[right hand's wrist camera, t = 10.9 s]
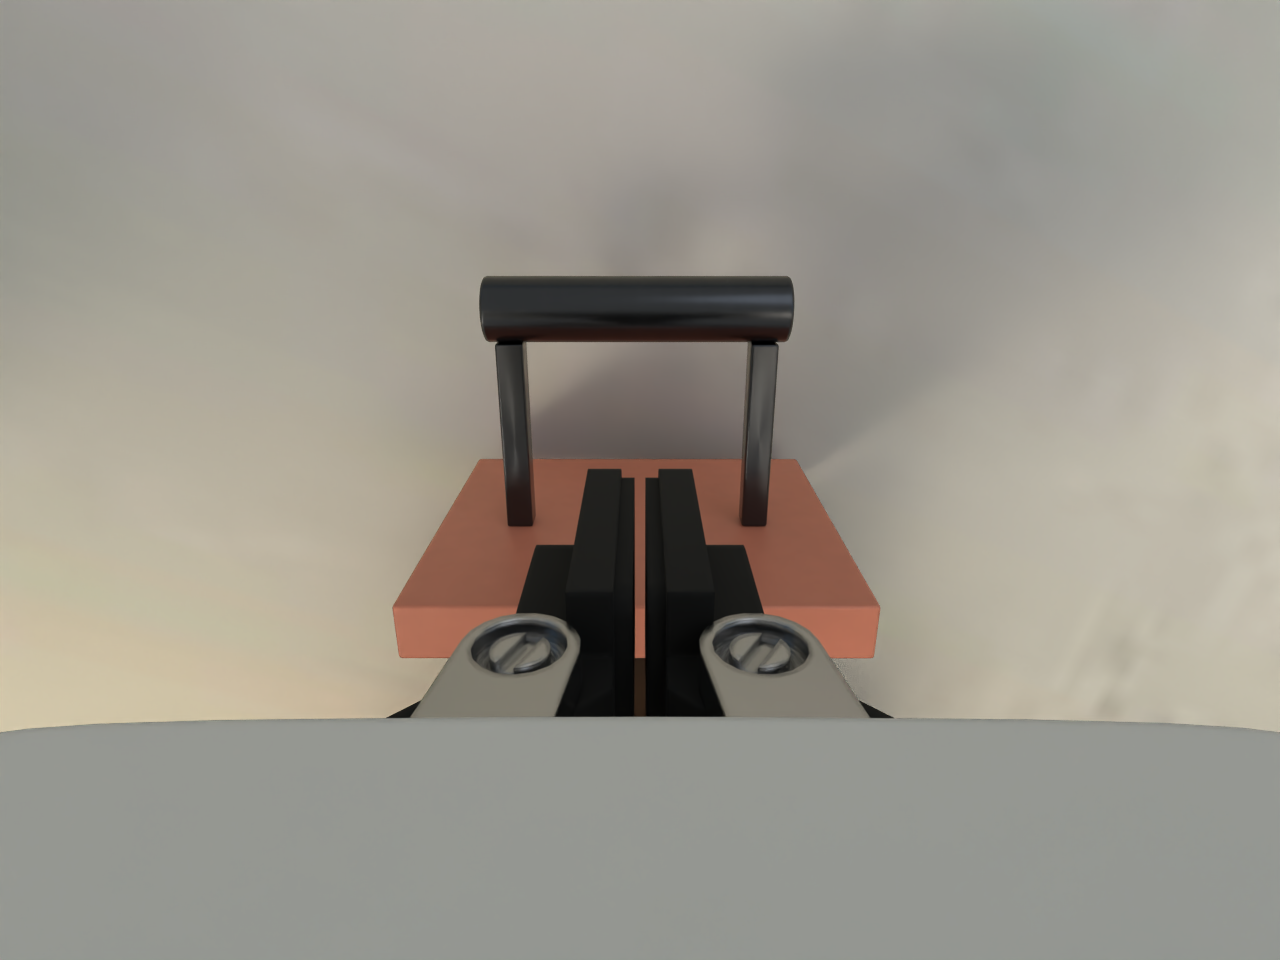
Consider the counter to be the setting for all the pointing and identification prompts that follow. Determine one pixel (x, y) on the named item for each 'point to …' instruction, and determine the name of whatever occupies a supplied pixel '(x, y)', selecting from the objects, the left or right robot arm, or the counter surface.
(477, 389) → the counter surface
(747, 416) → the drawer
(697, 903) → the right robot arm
